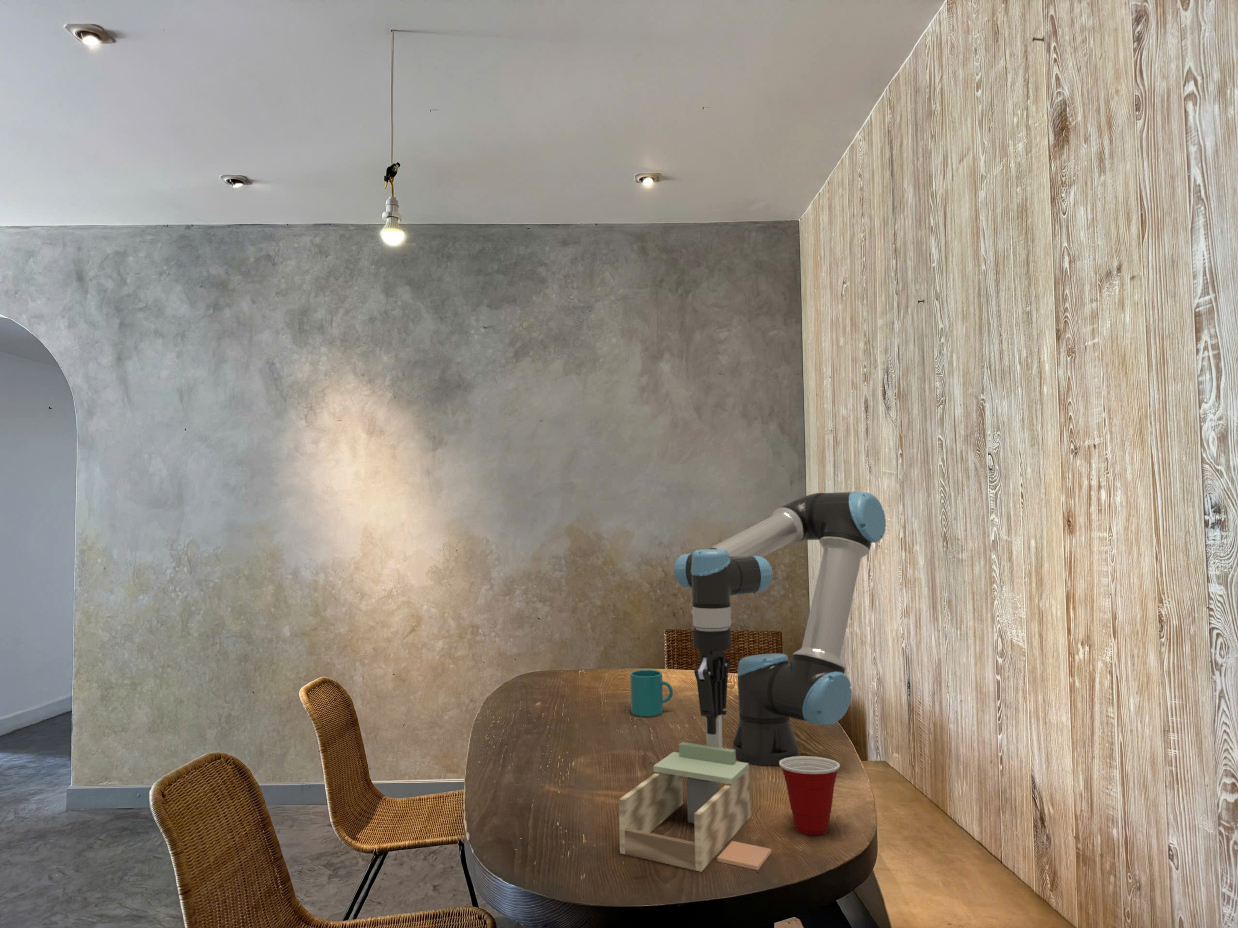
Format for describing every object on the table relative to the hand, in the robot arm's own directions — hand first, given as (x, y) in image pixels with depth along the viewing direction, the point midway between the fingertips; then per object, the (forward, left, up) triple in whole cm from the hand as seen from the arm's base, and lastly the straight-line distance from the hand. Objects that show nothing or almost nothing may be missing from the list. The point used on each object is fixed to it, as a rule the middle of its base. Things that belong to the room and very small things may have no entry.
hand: (714, 749), depth 150 cm
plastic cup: (+2, +19, -11) cm, 22 cm away
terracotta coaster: (+18, +12, -11) cm, 24 cm away
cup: (-54, -41, -11) cm, 69 cm away
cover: (+7, 0, -2) cm, 7 cm away
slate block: (+7, 0, -11) cm, 13 cm away
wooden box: (+14, 0, -11) cm, 18 cm away
